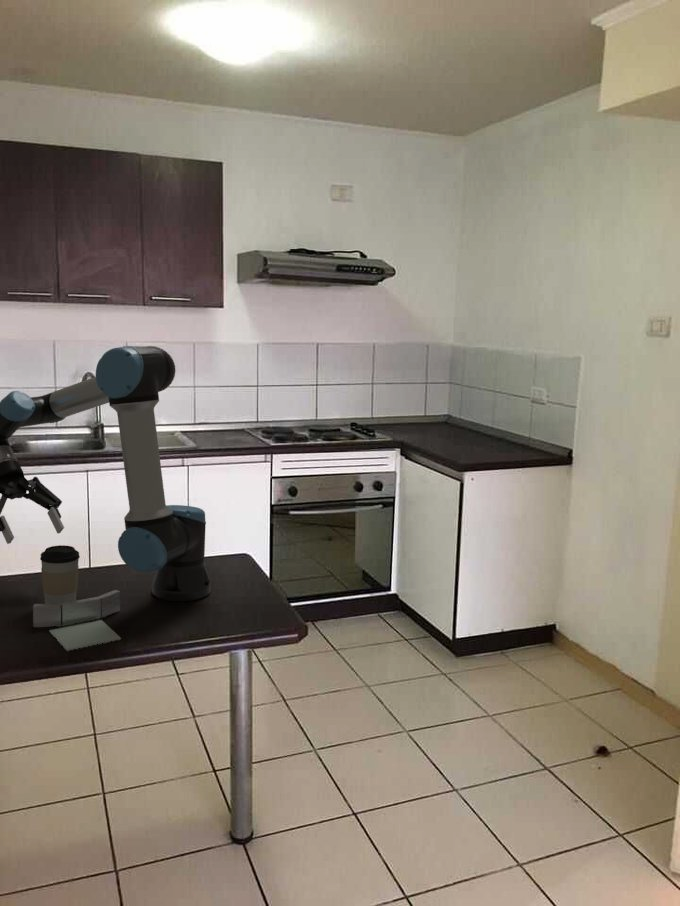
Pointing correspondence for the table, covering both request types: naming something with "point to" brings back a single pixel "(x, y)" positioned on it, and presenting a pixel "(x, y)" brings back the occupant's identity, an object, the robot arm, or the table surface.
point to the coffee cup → (59, 573)
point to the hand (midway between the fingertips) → (36, 535)
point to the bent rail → (76, 610)
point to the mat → (84, 635)
